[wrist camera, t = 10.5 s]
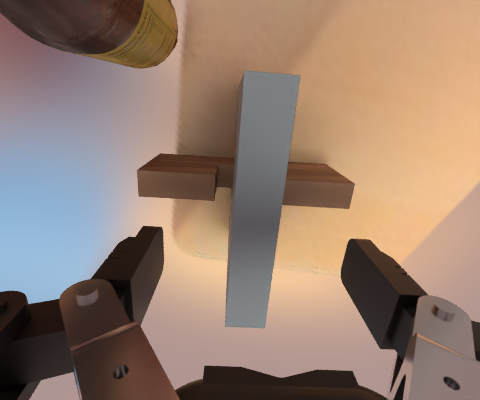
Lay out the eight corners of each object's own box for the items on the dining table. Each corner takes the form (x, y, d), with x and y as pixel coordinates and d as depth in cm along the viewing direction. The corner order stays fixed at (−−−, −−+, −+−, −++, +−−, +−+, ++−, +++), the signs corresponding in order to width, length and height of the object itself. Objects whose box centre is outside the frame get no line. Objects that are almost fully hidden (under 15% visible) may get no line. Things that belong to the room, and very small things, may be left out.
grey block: (239, 86, 24) (244, 70, 11) (266, 88, 24) (300, 75, 12) (228, 229, 28) (225, 326, 16) (251, 231, 29) (264, 328, 16)
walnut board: (160, 153, 26) (137, 170, 19) (326, 164, 26) (354, 184, 20) (160, 174, 26) (138, 196, 20) (323, 184, 27) (349, 208, 21)
